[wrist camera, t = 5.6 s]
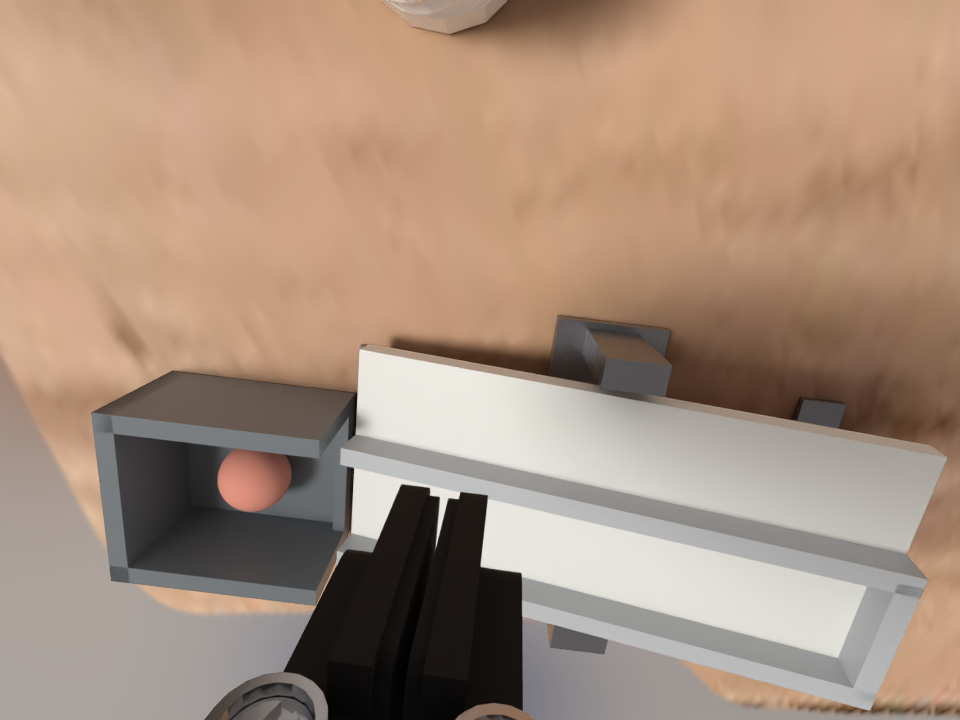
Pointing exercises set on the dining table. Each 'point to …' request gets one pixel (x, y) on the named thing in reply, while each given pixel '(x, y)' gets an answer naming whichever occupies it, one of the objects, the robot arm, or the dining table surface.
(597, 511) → the seesaw
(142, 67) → the dining table surface
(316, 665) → the robot arm
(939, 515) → the dining table surface
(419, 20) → the white cup
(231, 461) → the ball
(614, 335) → the stand
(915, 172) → the dining table surface
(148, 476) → the grey open cubby box
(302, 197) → the dining table surface
